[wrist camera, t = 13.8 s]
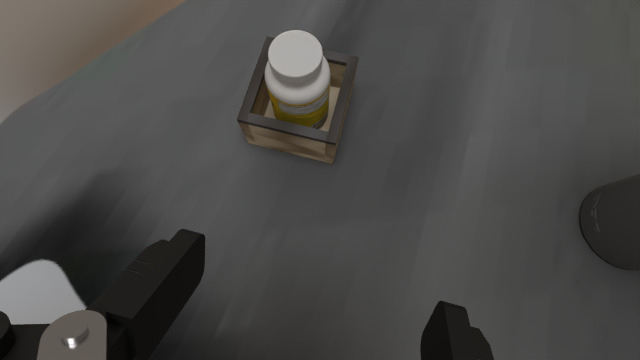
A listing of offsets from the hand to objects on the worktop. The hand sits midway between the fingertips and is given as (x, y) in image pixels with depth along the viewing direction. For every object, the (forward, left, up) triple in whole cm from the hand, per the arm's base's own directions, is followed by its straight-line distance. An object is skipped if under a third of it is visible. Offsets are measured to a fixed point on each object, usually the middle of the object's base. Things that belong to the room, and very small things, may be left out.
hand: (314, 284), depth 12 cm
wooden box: (+6, -18, -25) cm, 32 cm away
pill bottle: (+6, -18, -24) cm, 31 cm away
